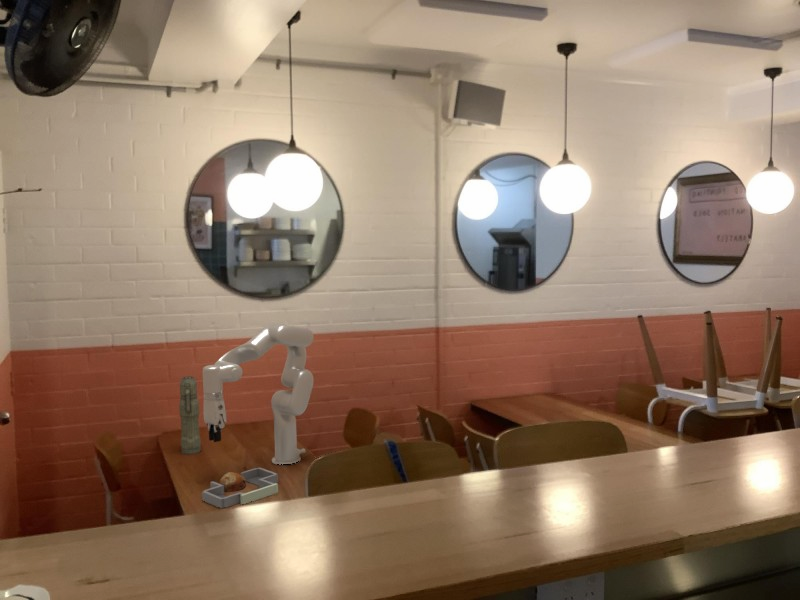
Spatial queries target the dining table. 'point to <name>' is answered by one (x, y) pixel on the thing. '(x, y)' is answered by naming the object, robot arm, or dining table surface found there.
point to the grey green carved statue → (189, 416)
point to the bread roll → (232, 482)
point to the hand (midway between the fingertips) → (215, 440)
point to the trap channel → (253, 476)
